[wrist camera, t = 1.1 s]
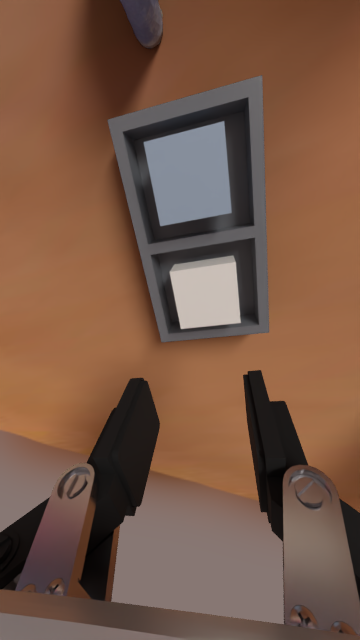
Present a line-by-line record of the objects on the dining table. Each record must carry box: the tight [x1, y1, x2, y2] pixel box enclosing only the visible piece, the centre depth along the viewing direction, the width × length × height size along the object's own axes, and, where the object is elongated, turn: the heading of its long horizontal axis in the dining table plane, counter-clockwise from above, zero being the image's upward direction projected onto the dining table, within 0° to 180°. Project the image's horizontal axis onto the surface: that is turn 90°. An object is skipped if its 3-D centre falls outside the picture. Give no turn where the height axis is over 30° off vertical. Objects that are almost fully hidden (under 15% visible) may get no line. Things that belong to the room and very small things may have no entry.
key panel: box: [108, 75, 269, 342], centre depth 24 cm, size 12×21×4 cm, turn 10°
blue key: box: [144, 121, 232, 226], centre depth 20 cm, size 6×6×3 cm
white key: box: [170, 256, 241, 329], centre depth 24 cm, size 6×6×3 cm
